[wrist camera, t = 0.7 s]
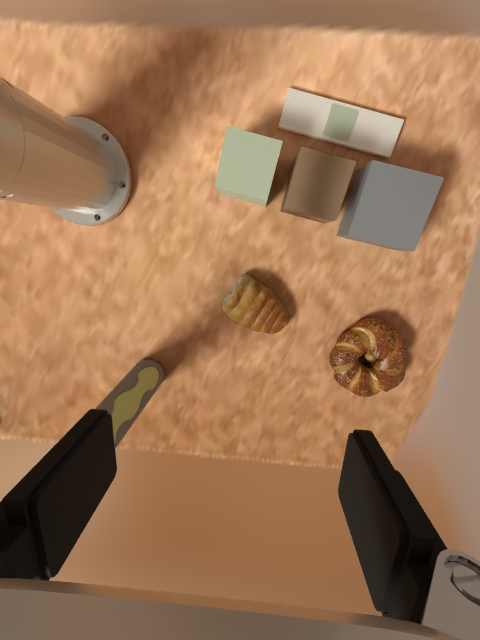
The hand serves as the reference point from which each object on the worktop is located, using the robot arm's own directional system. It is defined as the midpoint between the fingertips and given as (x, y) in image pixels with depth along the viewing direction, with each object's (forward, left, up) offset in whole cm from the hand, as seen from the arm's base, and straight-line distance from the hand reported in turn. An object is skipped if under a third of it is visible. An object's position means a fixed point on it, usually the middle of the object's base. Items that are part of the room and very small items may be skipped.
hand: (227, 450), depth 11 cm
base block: (+13, +15, -30) cm, 36 cm away
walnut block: (+4, +15, -30) cm, 34 cm away
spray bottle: (-12, -16, -30) cm, 36 cm away
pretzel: (+19, -4, -31) cm, 36 cm away
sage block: (-4, +15, -30) cm, 34 cm away
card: (+5, +23, -30) cm, 38 cm away
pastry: (+1, -1, -31) cm, 31 cm away
